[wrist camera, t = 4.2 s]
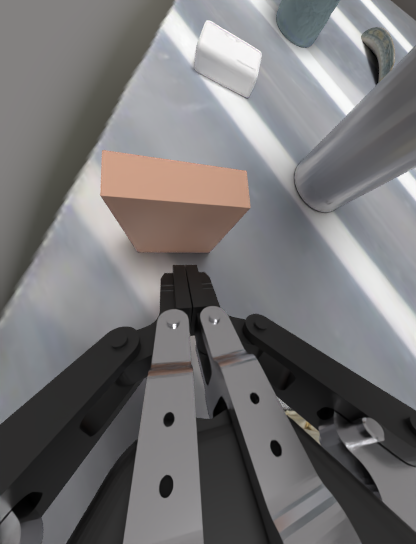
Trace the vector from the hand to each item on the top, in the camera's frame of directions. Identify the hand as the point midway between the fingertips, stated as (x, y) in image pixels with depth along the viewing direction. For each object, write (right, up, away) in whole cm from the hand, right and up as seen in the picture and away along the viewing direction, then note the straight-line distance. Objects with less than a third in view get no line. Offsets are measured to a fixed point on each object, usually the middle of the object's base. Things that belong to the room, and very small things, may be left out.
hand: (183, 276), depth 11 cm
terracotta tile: (-2, +4, +8) cm, 9 cm away
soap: (+4, +31, +14) cm, 34 cm away
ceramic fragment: (+38, +47, +25) cm, 65 cm away
